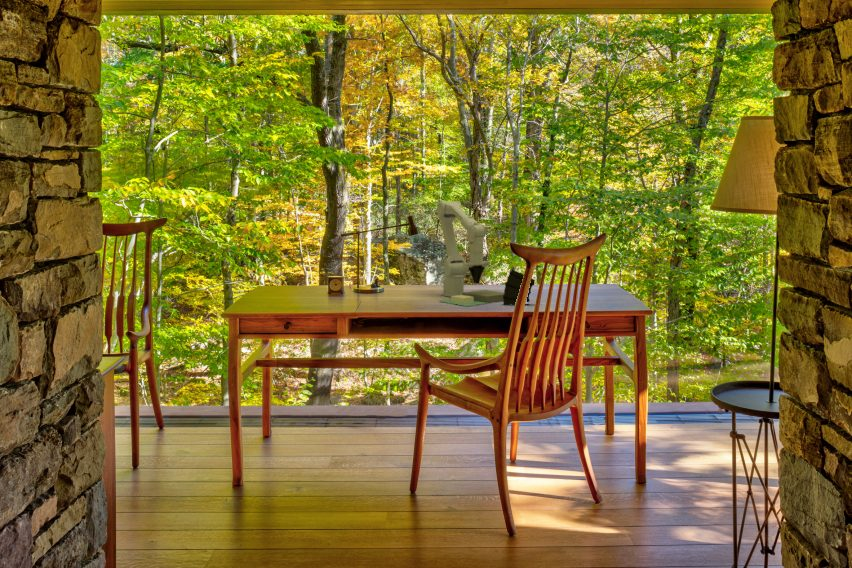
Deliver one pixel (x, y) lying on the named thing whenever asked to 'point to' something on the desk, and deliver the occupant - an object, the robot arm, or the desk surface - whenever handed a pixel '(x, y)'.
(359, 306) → the desk surface
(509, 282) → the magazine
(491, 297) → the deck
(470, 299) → the tile
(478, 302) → the mat
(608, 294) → the desk surface
